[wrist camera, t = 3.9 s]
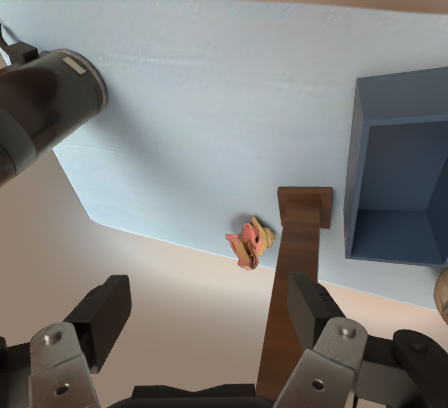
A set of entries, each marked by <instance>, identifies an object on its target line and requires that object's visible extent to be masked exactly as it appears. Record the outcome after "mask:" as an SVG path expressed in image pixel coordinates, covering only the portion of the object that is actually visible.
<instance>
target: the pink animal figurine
mask: <svg viewBox="0 0 448 408" xmlns="http://www.w3.org/2000/svg"><path fill="white" fill-rule="evenodd" d="M252 219H253V224H254V226H252V225H251V224H249V223H245V225H244V227H243V236H242V235H239V234H226V239H227V240H228V241H229V242H230V245H231V248H232V249H233V251H234V253H235V254H236V255H237V257H238V258H239V260H238V266H240V267H241V268H244V269H247V270H253V269H255V268H256V267H257V266H258V263H259V260H258V256H263V255H264V254H263V253H261V252H264V251H265V250H266V248H269V247H271V246H272V244H273V240H275V235H274V234H273V233H272V232H271V230H270V229H269V228H266V227H264V228H262V227H261V226H260V224H259V223H258V222H257V220H256V218H255V217H252Z"/></svg>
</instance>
